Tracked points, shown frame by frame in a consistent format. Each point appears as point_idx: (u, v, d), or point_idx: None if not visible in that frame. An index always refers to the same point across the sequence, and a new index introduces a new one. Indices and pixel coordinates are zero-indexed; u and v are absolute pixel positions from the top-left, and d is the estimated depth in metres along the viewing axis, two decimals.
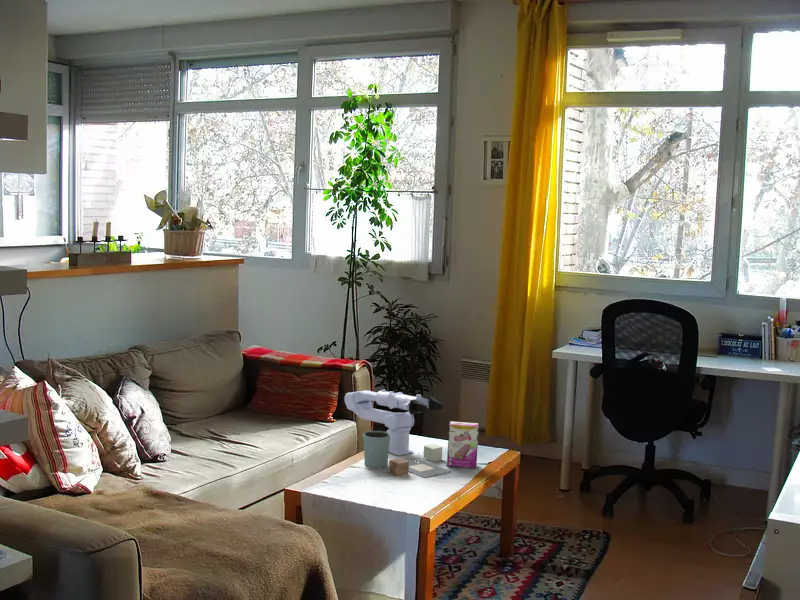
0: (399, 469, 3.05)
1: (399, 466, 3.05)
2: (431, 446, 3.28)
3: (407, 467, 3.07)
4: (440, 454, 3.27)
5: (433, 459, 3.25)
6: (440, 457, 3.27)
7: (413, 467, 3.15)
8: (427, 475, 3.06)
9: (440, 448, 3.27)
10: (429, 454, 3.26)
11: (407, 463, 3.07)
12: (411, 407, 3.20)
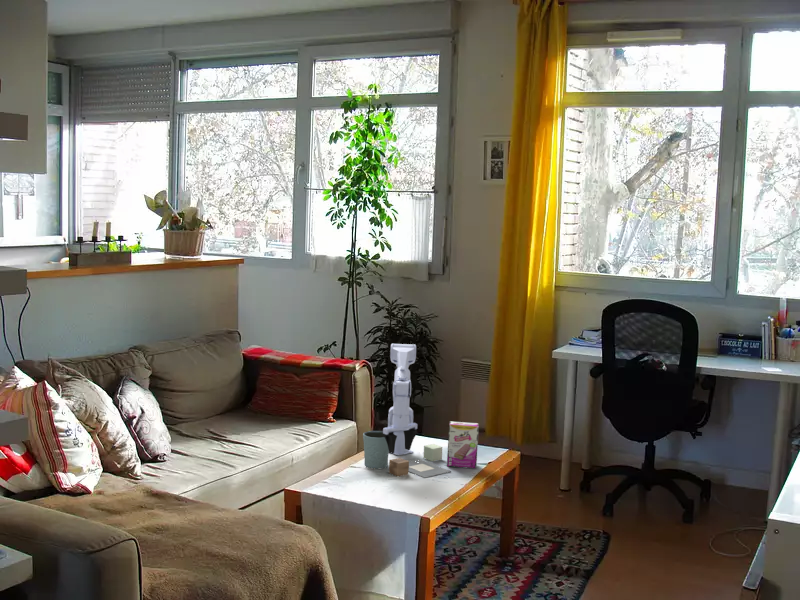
0: (399, 469, 3.05)
1: (399, 466, 3.05)
2: (431, 446, 3.28)
3: (407, 467, 3.07)
4: (440, 454, 3.27)
5: (433, 459, 3.25)
6: (440, 457, 3.27)
7: (413, 467, 3.15)
8: (427, 475, 3.06)
9: (440, 448, 3.27)
10: (429, 454, 3.26)
11: (407, 463, 3.07)
12: None
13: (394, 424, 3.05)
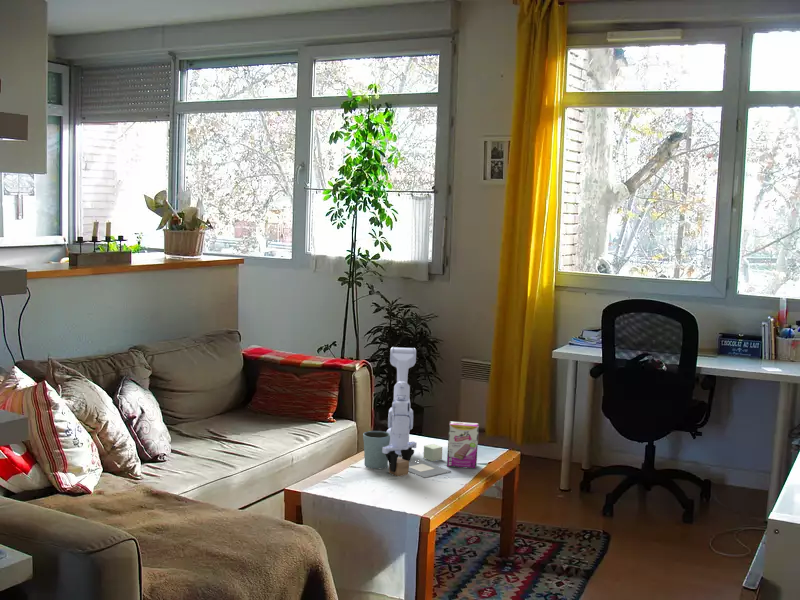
0: (399, 469, 3.05)
1: (399, 466, 3.05)
2: (431, 446, 3.28)
3: (407, 467, 3.07)
4: (440, 454, 3.27)
5: (433, 459, 3.25)
6: (440, 457, 3.27)
7: (413, 467, 3.15)
8: (427, 475, 3.06)
9: (440, 448, 3.27)
10: (429, 454, 3.26)
11: (407, 463, 3.07)
12: None
13: (393, 443, 3.05)
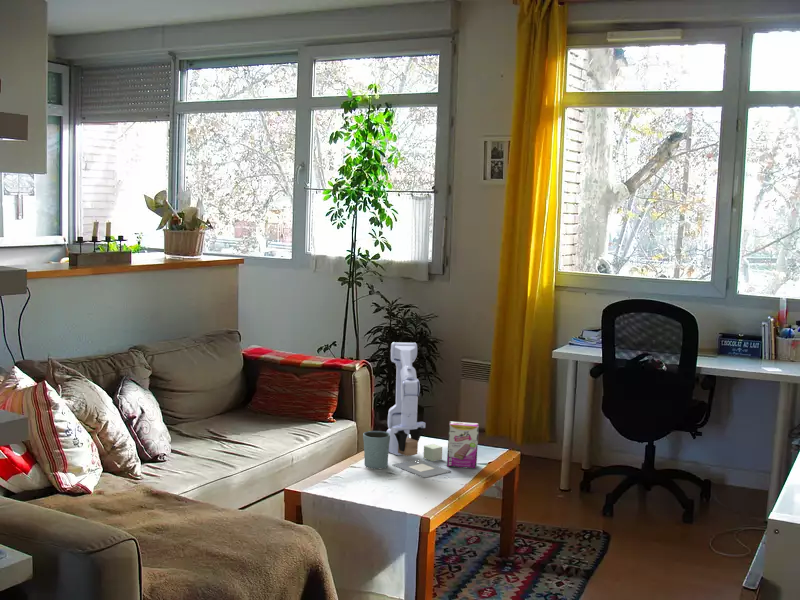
0: (408, 448, 3.07)
1: (408, 446, 3.07)
2: (431, 446, 3.28)
3: (416, 446, 3.09)
4: (440, 454, 3.27)
5: (433, 459, 3.25)
6: (440, 457, 3.27)
7: (413, 467, 3.15)
8: (427, 475, 3.06)
9: (440, 448, 3.27)
10: (429, 454, 3.26)
11: (416, 442, 3.09)
12: None
13: (402, 423, 3.07)
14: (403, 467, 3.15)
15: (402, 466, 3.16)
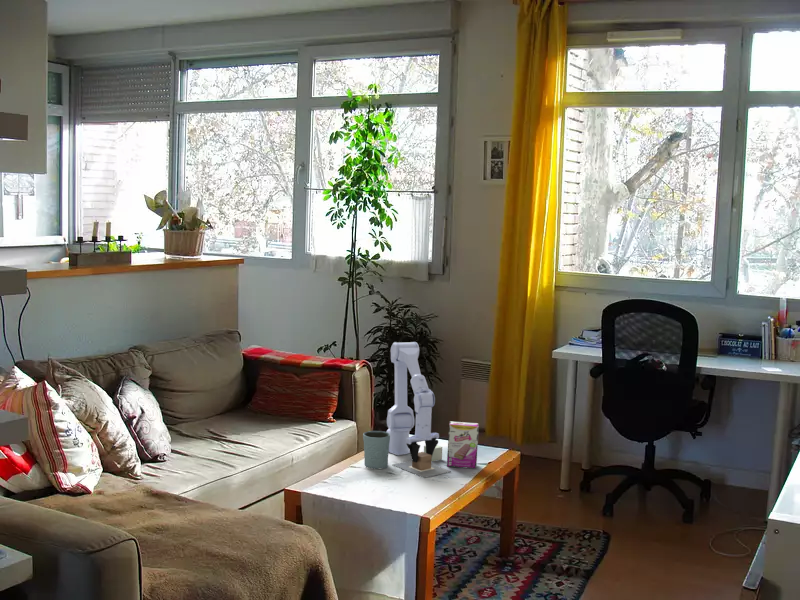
0: (422, 463, 3.12)
1: (422, 460, 3.12)
2: None
3: (430, 461, 3.14)
4: (440, 454, 3.27)
5: (433, 459, 3.25)
6: (440, 457, 3.27)
7: None
8: (427, 475, 3.06)
9: (440, 448, 3.27)
10: None
11: (430, 457, 3.14)
12: None
13: (417, 434, 3.12)
14: (403, 467, 3.15)
15: (402, 466, 3.16)
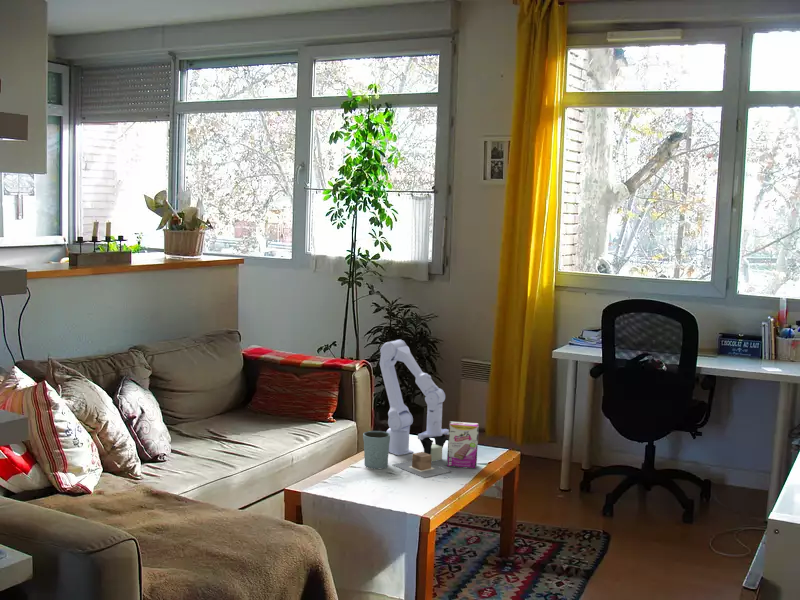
0: (422, 463, 3.12)
1: (422, 460, 3.12)
2: (431, 446, 3.28)
3: (430, 461, 3.14)
4: (440, 454, 3.27)
5: (433, 459, 3.25)
6: (440, 457, 3.27)
7: None
8: (427, 475, 3.06)
9: (440, 448, 3.27)
10: None
11: (430, 457, 3.14)
12: None
13: (428, 430, 3.25)
14: (403, 467, 3.15)
15: (402, 466, 3.16)
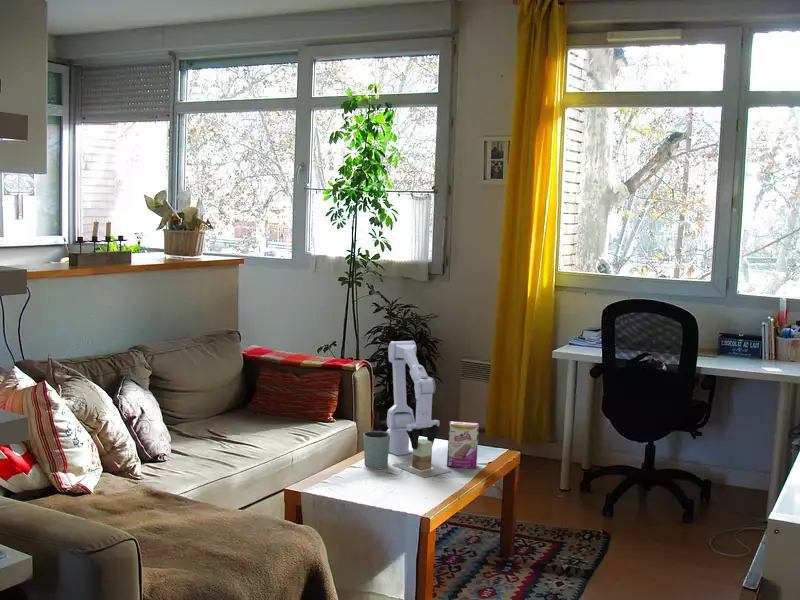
0: (422, 463, 3.12)
1: (422, 460, 3.12)
2: (420, 441, 3.14)
3: (430, 461, 3.14)
4: (429, 449, 3.13)
5: (422, 454, 3.11)
6: (430, 452, 3.14)
7: None
8: (427, 475, 3.06)
9: (430, 443, 3.13)
10: (419, 449, 3.12)
11: (430, 457, 3.14)
12: None
13: (417, 421, 3.12)
14: (403, 467, 3.15)
15: (402, 466, 3.16)
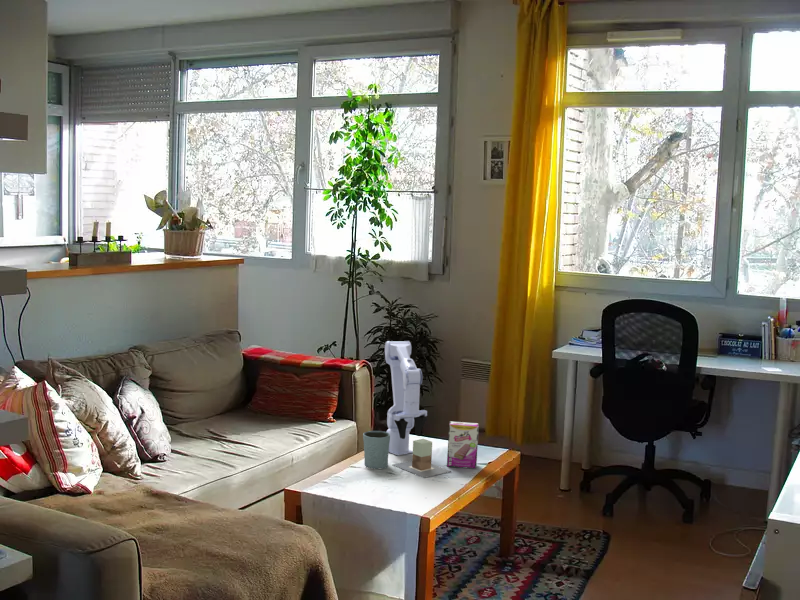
0: (422, 463, 3.12)
1: (422, 460, 3.12)
2: (420, 441, 3.14)
3: (430, 461, 3.14)
4: (429, 449, 3.13)
5: (422, 454, 3.11)
6: (430, 452, 3.14)
7: None
8: (427, 475, 3.06)
9: (430, 443, 3.13)
10: (419, 449, 3.12)
11: (430, 457, 3.14)
12: (399, 421, 3.15)
13: (405, 411, 3.17)
14: (403, 467, 3.15)
15: (402, 466, 3.16)
